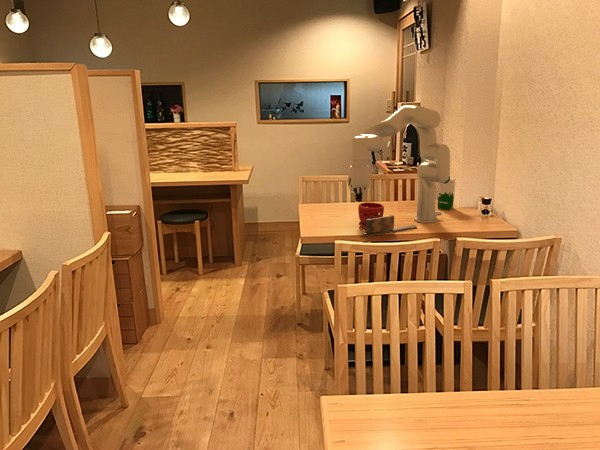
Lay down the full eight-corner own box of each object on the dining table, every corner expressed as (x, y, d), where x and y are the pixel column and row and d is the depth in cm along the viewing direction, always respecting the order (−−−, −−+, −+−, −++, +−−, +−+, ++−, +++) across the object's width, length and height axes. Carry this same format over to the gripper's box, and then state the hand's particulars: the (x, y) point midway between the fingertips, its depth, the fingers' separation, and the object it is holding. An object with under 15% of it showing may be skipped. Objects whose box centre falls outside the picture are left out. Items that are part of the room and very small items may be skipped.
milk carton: (435, 209, 295) (437, 175, 290) (440, 205, 302) (442, 173, 297) (450, 210, 291) (452, 177, 285) (454, 207, 298) (457, 174, 292)
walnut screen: (391, 228, 253) (392, 215, 251) (394, 229, 251) (395, 216, 249) (365, 232, 246) (365, 219, 244) (368, 234, 244) (368, 220, 242)
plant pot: (370, 231, 252) (371, 209, 249) (352, 226, 262) (353, 204, 259) (388, 227, 260) (389, 205, 256) (370, 222, 270) (371, 200, 267)
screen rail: (412, 226, 260) (413, 224, 260) (416, 228, 257) (416, 226, 257) (363, 235, 246) (363, 233, 246) (366, 237, 244) (366, 235, 244)
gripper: (368, 161, 240) (367, 198, 245) (341, 163, 233) (341, 201, 238) (377, 163, 233) (376, 201, 238) (350, 165, 227) (349, 204, 232)
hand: (358, 201), depth 238 cm, fingers closed
